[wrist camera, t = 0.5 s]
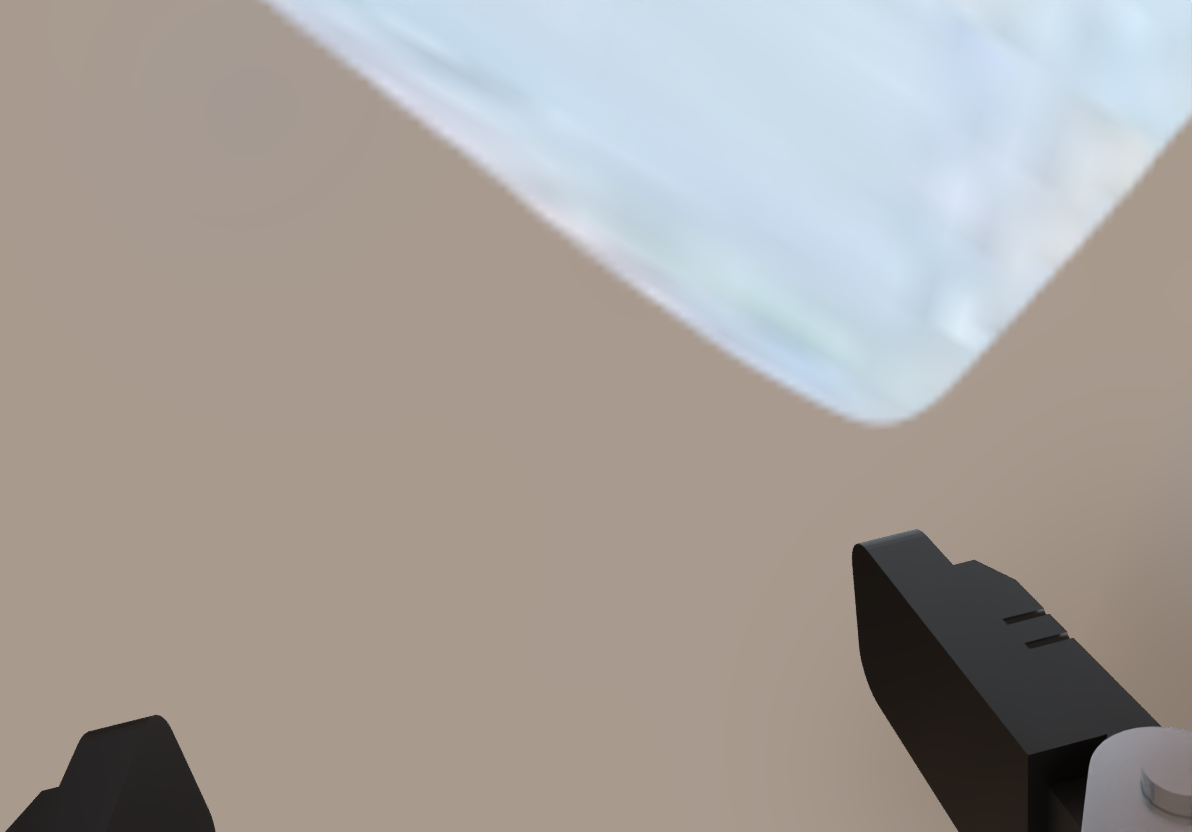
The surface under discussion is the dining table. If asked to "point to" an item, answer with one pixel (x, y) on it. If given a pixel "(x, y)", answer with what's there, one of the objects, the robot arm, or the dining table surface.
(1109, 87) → the dining table surface
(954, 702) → the robot arm
